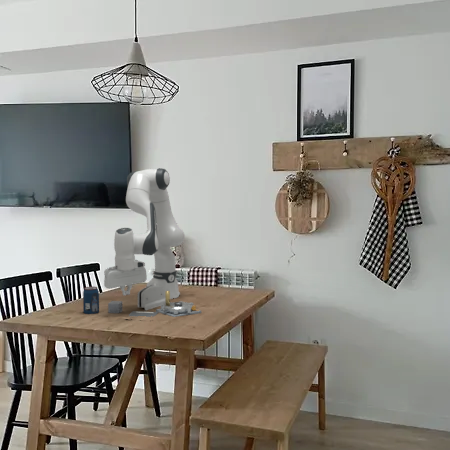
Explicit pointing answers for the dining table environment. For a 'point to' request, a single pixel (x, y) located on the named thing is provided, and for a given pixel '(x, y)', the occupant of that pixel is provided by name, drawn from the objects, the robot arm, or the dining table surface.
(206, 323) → the dining table surface
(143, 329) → the dining table surface
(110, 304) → the link block
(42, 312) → the dining table surface
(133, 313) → the pad
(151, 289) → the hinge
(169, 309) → the sprocket
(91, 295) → the soda can
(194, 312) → the sprocket base
